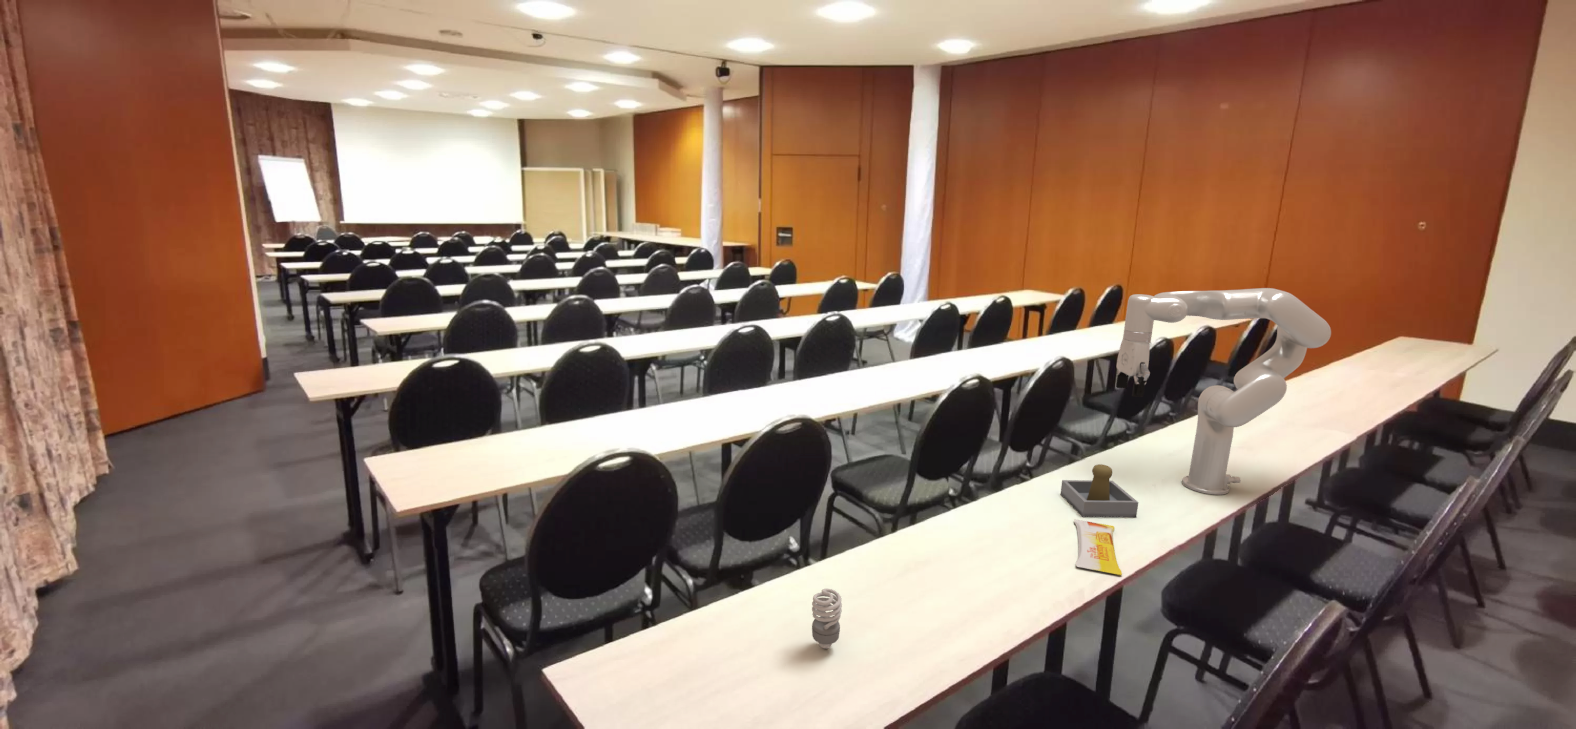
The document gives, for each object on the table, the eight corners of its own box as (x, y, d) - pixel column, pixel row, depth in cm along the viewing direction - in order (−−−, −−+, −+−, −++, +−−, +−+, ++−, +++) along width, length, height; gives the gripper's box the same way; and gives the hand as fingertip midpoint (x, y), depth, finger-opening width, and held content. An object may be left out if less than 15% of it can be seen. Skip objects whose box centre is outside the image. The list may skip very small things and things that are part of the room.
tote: (1110, 494, 211) (1112, 480, 210) (1136, 517, 196) (1138, 502, 195) (1060, 494, 210) (1062, 480, 209) (1082, 517, 196) (1084, 501, 195)
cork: (1112, 507, 200) (1117, 470, 197) (1089, 505, 201) (1094, 468, 198) (1106, 498, 206) (1111, 462, 203) (1084, 496, 207) (1089, 461, 204)
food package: (1122, 570, 165) (1076, 562, 168) (1121, 579, 165) (1075, 570, 169) (1114, 521, 190) (1074, 515, 193) (1113, 529, 190) (1073, 522, 194)
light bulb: (808, 639, 140) (810, 584, 137) (837, 638, 140) (839, 583, 137) (812, 657, 134) (814, 600, 131) (841, 656, 135) (844, 599, 132)
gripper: (1110, 330, 220) (1103, 384, 224) (1139, 342, 203) (1131, 400, 207) (1134, 331, 220) (1127, 384, 224) (1165, 342, 203) (1156, 400, 207)
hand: (1129, 392), depth 216 cm, fingers open, 9 cm apart
